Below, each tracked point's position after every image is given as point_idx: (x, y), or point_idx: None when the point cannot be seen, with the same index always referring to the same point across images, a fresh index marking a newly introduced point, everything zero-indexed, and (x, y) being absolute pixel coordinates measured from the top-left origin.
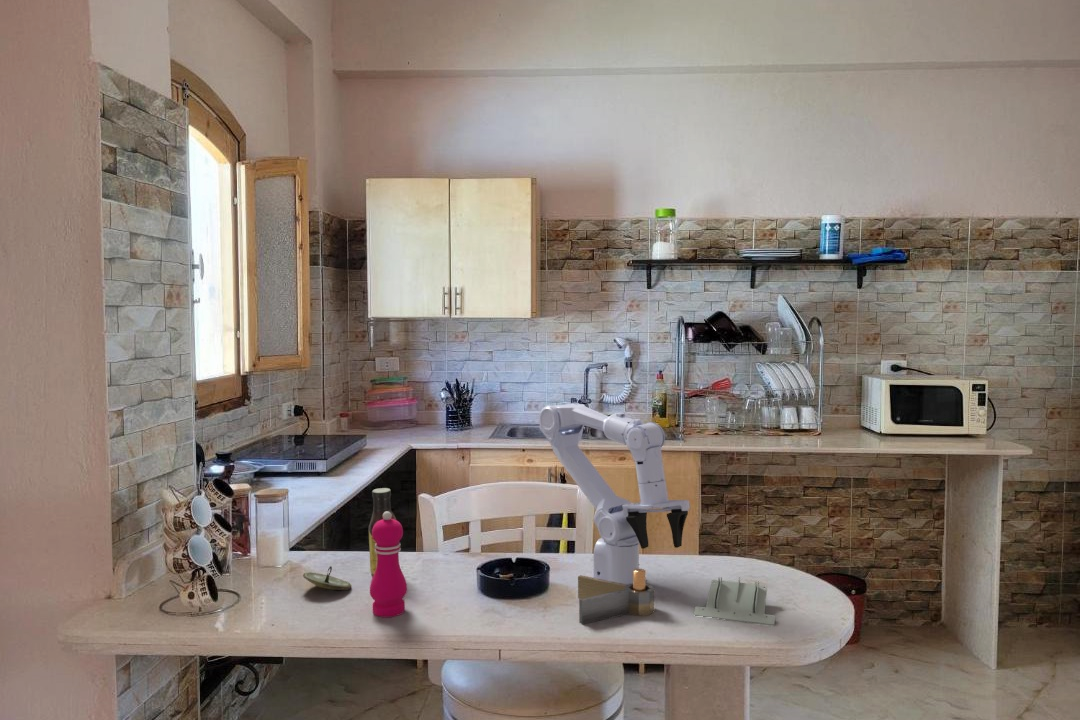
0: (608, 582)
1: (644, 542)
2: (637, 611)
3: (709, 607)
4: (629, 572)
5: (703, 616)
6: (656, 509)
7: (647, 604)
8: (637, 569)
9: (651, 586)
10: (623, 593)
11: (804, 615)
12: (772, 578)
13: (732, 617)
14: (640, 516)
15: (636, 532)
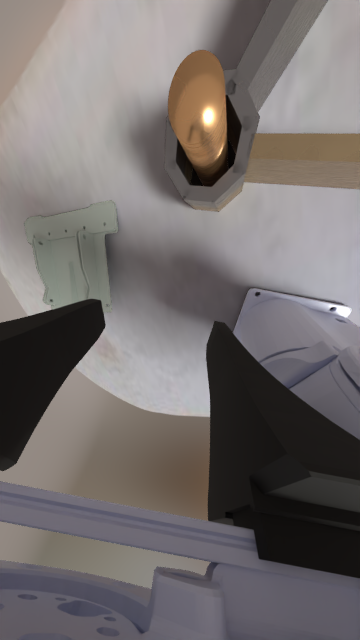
0: (333, 135)
1: (214, 340)
2: None
3: (98, 236)
4: (259, 315)
5: (100, 205)
6: (57, 531)
7: None
8: (206, 115)
9: (176, 185)
10: (256, 33)
11: (30, 275)
12: (101, 366)
13: (65, 217)
14: (234, 479)
15: (249, 361)
